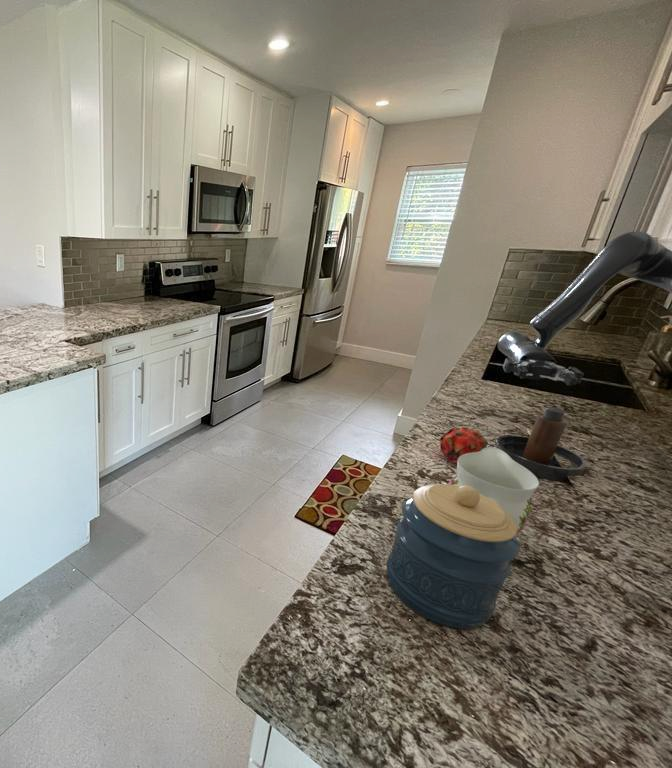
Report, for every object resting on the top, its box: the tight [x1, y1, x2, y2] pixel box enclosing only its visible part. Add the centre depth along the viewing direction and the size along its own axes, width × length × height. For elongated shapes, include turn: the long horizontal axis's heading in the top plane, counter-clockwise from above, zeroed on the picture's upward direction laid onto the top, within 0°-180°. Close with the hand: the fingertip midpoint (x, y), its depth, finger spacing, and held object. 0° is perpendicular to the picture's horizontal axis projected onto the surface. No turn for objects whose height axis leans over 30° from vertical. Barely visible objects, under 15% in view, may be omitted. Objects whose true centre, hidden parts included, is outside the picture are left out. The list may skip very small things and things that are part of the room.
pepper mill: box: [522, 406, 568, 465], centre depth 90 cm, size 5×5×13 cm
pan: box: [493, 434, 588, 482], centre depth 92 cm, size 15×15×4 cm
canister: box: [386, 483, 520, 630], centre depth 56 cm, size 13×13×18 cm
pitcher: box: [447, 446, 540, 538], centre depth 67 cm, size 11×18×14 cm, turn 144°
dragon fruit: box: [438, 426, 489, 464], centre depth 92 cm, size 8×8×12 cm
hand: (548, 378), depth 96 cm, fingers open, 8 cm apart
